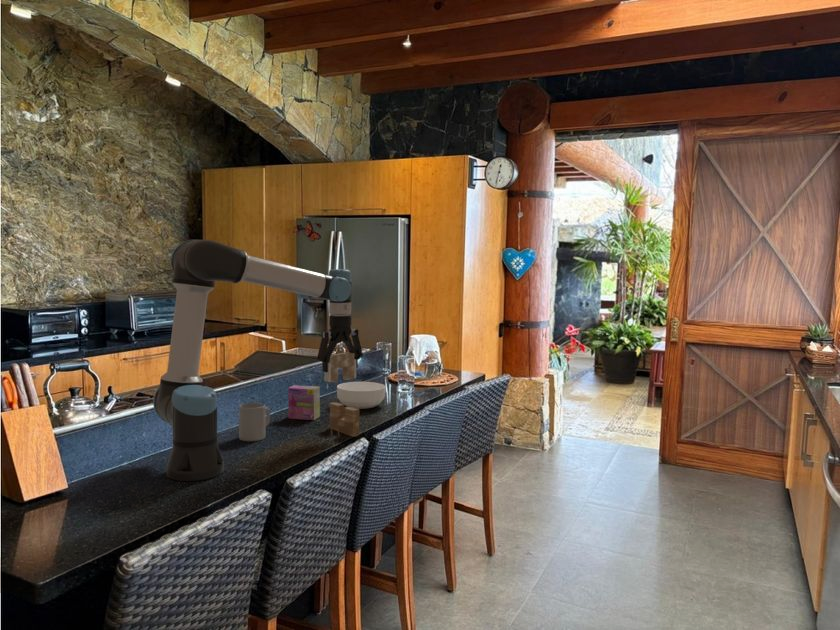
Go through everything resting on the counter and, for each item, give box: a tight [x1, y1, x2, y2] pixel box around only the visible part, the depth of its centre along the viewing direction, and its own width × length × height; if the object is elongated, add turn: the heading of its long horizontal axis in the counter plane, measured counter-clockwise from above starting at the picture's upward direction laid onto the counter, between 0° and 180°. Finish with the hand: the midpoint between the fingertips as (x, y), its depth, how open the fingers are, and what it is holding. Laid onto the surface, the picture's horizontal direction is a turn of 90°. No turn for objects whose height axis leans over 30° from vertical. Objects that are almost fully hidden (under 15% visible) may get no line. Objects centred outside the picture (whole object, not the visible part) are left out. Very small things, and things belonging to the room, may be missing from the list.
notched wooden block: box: [329, 401, 360, 437], centre depth 222 cm, size 2×14×9 cm, turn 42°
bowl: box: [336, 381, 386, 410], centre depth 260 cm, size 20×20×8 cm
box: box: [287, 384, 321, 421], centre depth 240 cm, size 10×6×12 cm, turn 76°
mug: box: [238, 402, 271, 442], centre depth 213 cm, size 12×8×11 cm
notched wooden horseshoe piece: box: [328, 351, 355, 383], centre depth 219 cm, size 10×2×9 cm, turn 132°
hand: (340, 379), depth 220 cm, fingers closed on notched wooden horseshoe piece, 10 cm apart
